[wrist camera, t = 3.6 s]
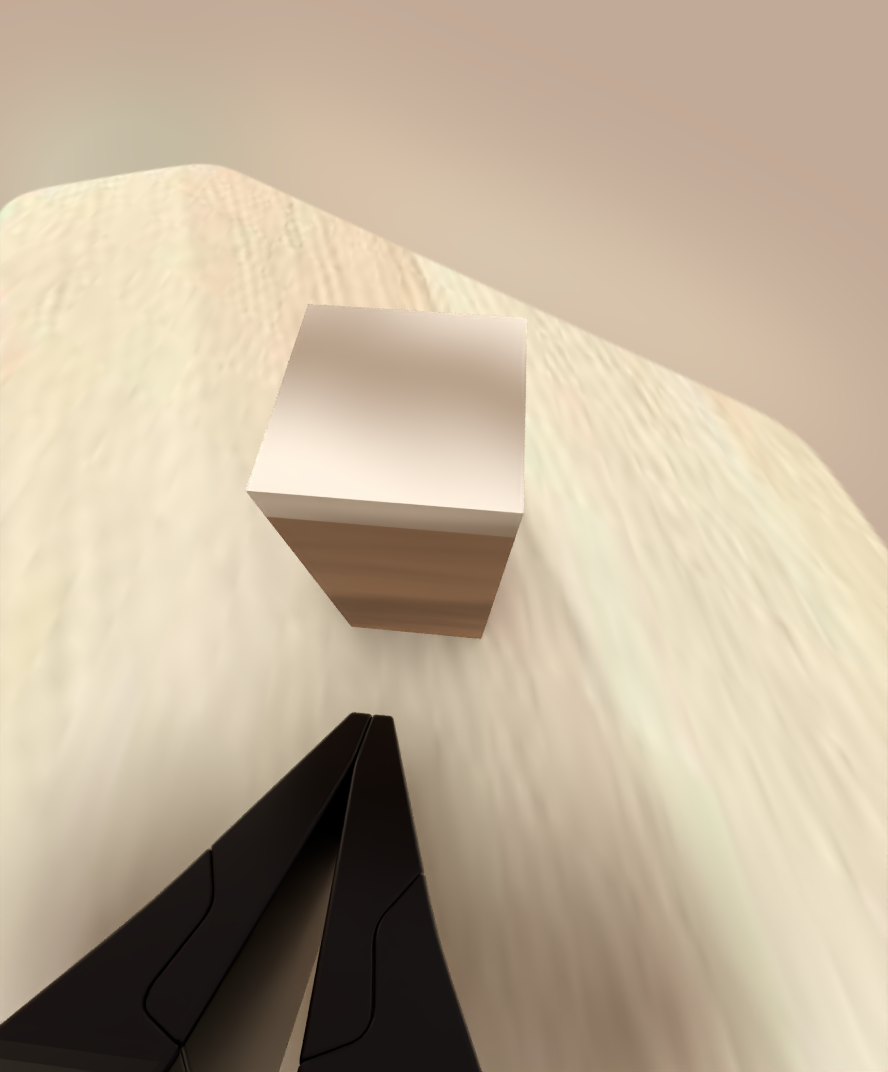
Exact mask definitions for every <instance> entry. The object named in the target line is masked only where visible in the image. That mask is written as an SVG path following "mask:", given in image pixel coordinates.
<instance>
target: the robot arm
mask: <svg viewBox="0 0 888 1072" xmlns="http://www.w3.org/2000/svg"><path fill="white" fill-rule="evenodd" d="M321 939H322V940H321ZM320 942H321V945H320ZM319 946H320V951H319V956H318V962H317V967H316V973H315V978H314V984H313V989H312V994H311V1000H310V1005H309V1011H308V1016H307V1022H306V1027H305V1033H304V1038H303V1044H302V1049H301V1054H300V1066H299V1068H298V1071H297V1072H482V1070H481V1067H480V1064H479V1061H478V1058H477V1055H476V1052H475V1049H474V1046H473V1043H472V1040H471V1037H470V1034H469V1031H468V1028H467V1025H466V1022H465V1019H464V1016H463V1013H462V1009H461V1006H460V1003H459V1000H458V997H457V994H456V991H455V988H454V985H453V982H452V979H451V976H450V973H449V969H448V966H447V962H446V959H445V956H444V952H443V949H442V945H441V942H440V939H439V935H438V931H437V927H436V923H435V918H434V914H433V910H432V906H431V901H430V897H429V892H428V887H427V882H426V877H425V875H424V868H423V863H422V858H421V853H420V848H419V843H418V838H417V833H416V828H415V823H414V818H413V813H412V808H411V803H410V798H409V793H408V788H407V783H406V778H405V773H404V768H403V763H402V759H401V754H400V749H399V744H398V739H397V734H396V729H395V724H394V719H393V717H391V716H385V715H374V716H373V717H372V716H371V715H370V714H365V713H355V712H354V713H351V714H350V715H348V716H347V717H346V718H345V719H344V720H343V721H342V722H341V723H340V724H339V725H338V726H337V727H336V728H335V729H334V730H333V731H332V732H330V733H329V734H328V735H327V736H326V737H325V738H324V739H323V740H322V741H321V742H320V743H319V744H318V745H317V746H316V747H315V748H314V749H313V750H312V751H310V752H309V753H308V754H307V755H306V756H305V757H304V758H303V759H302V760H301V761H300V762H299V763H298V764H297V765H296V766H295V767H294V768H293V769H291V770H290V771H289V772H288V773H287V774H286V775H285V776H284V777H283V778H282V779H281V780H280V781H279V782H278V783H277V784H276V785H275V786H274V787H273V788H271V789H270V790H269V791H268V792H267V793H266V794H265V795H264V796H263V797H262V798H261V799H260V800H259V801H258V802H257V803H256V804H255V805H254V806H252V807H251V808H250V809H249V810H248V811H247V812H246V813H245V814H244V815H243V816H242V817H241V818H240V819H239V820H238V821H237V822H236V823H235V824H234V825H232V826H231V827H230V828H229V829H228V830H227V831H226V832H225V833H224V834H223V835H222V836H221V837H220V838H219V839H218V840H217V841H216V842H215V843H214V844H212V846H211V850H210V849H207V850H206V851H205V852H204V853H203V854H202V855H201V856H200V857H198V858H197V859H196V860H195V861H194V862H193V863H192V864H191V865H190V866H189V867H188V868H187V869H186V870H185V871H184V872H182V873H181V874H180V875H179V876H178V877H177V878H176V879H175V880H174V881H173V882H171V883H170V884H169V885H168V886H167V887H166V888H165V889H164V890H163V891H162V892H160V893H159V894H158V895H157V896H156V897H155V898H154V899H153V900H152V901H150V902H149V903H148V904H147V905H146V906H144V907H143V908H142V909H141V910H140V911H138V912H137V913H136V914H135V915H134V916H133V917H131V918H130V919H129V920H128V921H127V922H125V923H124V924H123V925H122V926H121V927H119V928H118V929H117V930H116V931H115V932H114V933H112V934H111V935H110V936H109V937H107V938H106V939H105V940H104V941H102V942H101V943H100V944H99V945H98V946H96V947H95V948H94V949H93V950H91V951H90V952H89V953H88V954H87V955H85V956H84V957H83V958H82V959H80V960H79V961H78V962H77V963H75V964H74V965H73V966H72V967H71V968H69V969H68V970H67V971H66V972H64V973H63V974H62V975H61V976H59V977H58V978H57V979H56V980H55V981H53V982H52V983H51V984H50V985H48V986H47V987H46V988H45V989H43V990H42V991H41V992H40V993H39V994H37V995H36V996H35V997H34V998H32V999H31V1000H30V1001H29V1002H28V1003H26V1004H25V1005H24V1006H23V1007H21V1008H20V1009H19V1010H18V1011H16V1012H15V1013H14V1014H13V1015H12V1016H10V1017H9V1018H8V1019H7V1020H5V1021H4V1022H3V1023H1V1024H0V1072H279V1069H280V1066H281V1063H282V1060H283V1057H284V1054H285V1051H286V1048H287V1045H288V1041H289V1038H290V1035H291V1032H292V1029H293V1026H294V1023H295V1020H296V1017H297V1014H298V1011H299V1007H300V1004H301V1001H302V998H303V995H304V992H305V989H306V986H307V983H308V980H309V976H310V973H311V970H312V967H313V964H314V961H315V958H316V955H317V952H318V949H319Z"/></svg>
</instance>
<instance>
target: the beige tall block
mask: <svg viewBox="0 0 888 1072" xmlns="http://www.w3.org/2000/svg"><path fill="white" fill-rule="evenodd" d="M526 348H527V318H519V317H504V316H488V315H472V314H456V313H440V312H424V311H408V310H393V309H377V308H361V307H345V306H329V305H313V304H308V306H307V309H306V312H305V315H304V318H303V321H302V324H301V327H300V330H299V333H298V336H297V339H296V342H295V345H294V348H293V351H292V354H291V357H290V360H289V363H288V366H287V369H286V372H285V375H284V378H283V381H282V384H281V387H280V390H279V393H278V396H277V398H276V401H275V404H274V407H273V410H272V413H271V416H270V419H269V422H268V425H267V428H266V431H265V434H264V437H263V440H262V443H261V446H260V449H259V452H258V455H257V458H256V461H255V464H254V467H253V470H252V473H251V476H250V479H249V482H248V485H247V488H246V492H247V493H248V494H249V496H250V497H251V498H252V499H253V501H254V502H255V503H256V505H257V506H258V507H259V508H260V510H261V511H262V512H263V514H264V515H265V516H266V517H267V519H268V520H269V521H270V523H271V524H272V525H273V526H274V528H275V529H276V530H277V532H278V533H279V534H280V535H281V537H282V538H283V539H284V541H285V542H286V543H287V544H288V546H289V547H290V548H291V550H292V551H293V552H294V553H295V555H296V556H297V557H298V559H299V560H300V561H301V562H302V564H303V565H304V566H305V568H306V569H307V570H308V571H309V573H310V574H311V575H312V576H313V578H314V579H315V580H316V582H317V583H318V584H319V585H320V587H321V588H322V589H323V591H324V592H325V593H326V594H327V596H328V597H329V598H330V600H331V601H332V602H333V603H334V605H335V606H336V607H337V609H338V610H339V611H340V612H341V614H342V615H343V616H344V618H345V619H346V620H347V621H348V623H349V624H350V625H351V626H352V627H362V628H373V629H384V630H394V631H405V632H416V633H426V634H437V635H448V636H458V637H469V638H480V639H481V637H482V634H483V631H484V629H485V626H486V623H487V620H488V617H489V614H490V611H491V608H492V605H493V602H494V599H495V596H496V593H497V590H498V587H499V584H500V581H501V578H502V575H503V572H504V569H505V566H506V563H507V560H508V557H509V554H510V551H511V548H512V545H513V543H514V540H515V537H516V534H517V531H518V528H519V525H520V522H521V519H522V516H523V506H524V454H525V401H526Z"/></svg>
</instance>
